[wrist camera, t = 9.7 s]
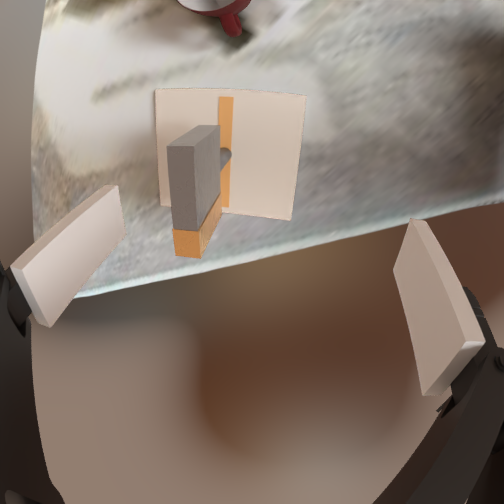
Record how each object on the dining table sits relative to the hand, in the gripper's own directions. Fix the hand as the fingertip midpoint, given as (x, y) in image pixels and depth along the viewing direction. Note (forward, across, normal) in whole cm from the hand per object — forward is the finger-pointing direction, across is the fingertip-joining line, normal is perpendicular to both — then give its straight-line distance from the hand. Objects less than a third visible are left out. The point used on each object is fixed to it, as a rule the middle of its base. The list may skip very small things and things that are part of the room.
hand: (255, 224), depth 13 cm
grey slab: (+20, -8, -6) cm, 23 cm away
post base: (+29, -8, -6) cm, 30 cm away
